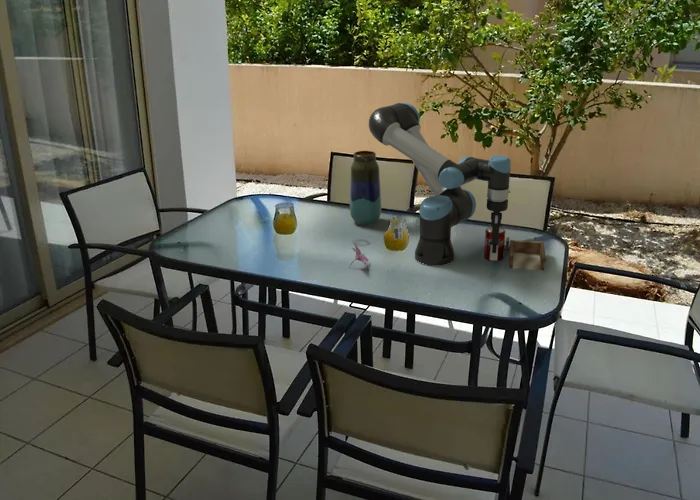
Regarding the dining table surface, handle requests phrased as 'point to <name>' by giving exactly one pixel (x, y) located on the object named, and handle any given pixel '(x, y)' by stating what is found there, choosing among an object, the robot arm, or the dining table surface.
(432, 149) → the robot arm
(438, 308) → the dining table surface
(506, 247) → the clip
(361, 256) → the lily
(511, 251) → the end holder
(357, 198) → the vase
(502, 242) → the soda can
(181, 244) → the dining table surface
